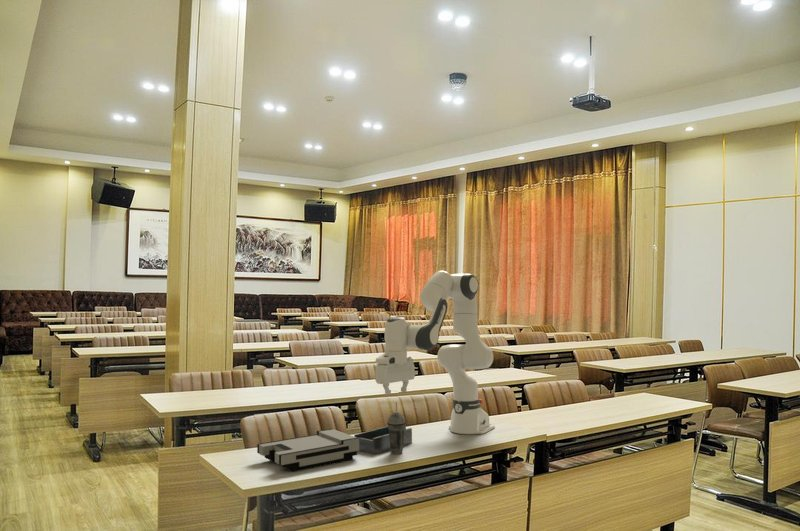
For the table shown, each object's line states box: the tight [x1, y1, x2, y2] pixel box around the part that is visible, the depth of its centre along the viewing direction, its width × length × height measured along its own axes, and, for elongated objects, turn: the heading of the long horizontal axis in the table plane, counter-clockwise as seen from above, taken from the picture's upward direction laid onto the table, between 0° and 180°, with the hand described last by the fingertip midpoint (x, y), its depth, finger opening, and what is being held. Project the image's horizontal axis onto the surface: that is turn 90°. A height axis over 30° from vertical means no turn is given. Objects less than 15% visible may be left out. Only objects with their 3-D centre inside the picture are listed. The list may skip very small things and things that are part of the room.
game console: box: [256, 428, 360, 473], centre depth 226 cm, size 21×32×8 cm, turn 126°
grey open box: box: [353, 425, 413, 455], centre depth 246 cm, size 23×11×6 cm, turn 139°
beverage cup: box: [386, 401, 406, 455], centre depth 236 cm, size 7×7×20 cm
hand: (395, 393), depth 236 cm, fingers open, 8 cm apart
